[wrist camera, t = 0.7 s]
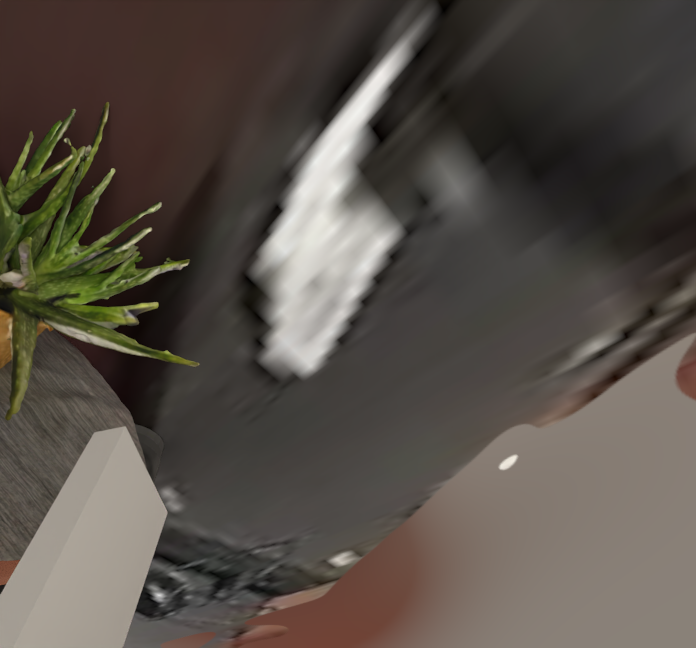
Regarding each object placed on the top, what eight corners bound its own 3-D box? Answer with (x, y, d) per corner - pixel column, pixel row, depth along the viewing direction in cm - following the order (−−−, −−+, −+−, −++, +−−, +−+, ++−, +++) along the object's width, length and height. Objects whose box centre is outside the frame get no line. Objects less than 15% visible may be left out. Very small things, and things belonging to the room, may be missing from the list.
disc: (270, 286, 46) (399, 346, 23) (110, 453, 44) (75, 701, 21) (-2, 18, 38) (-231, -313, 14) (-218, 210, 35) (-886, 179, 12)
